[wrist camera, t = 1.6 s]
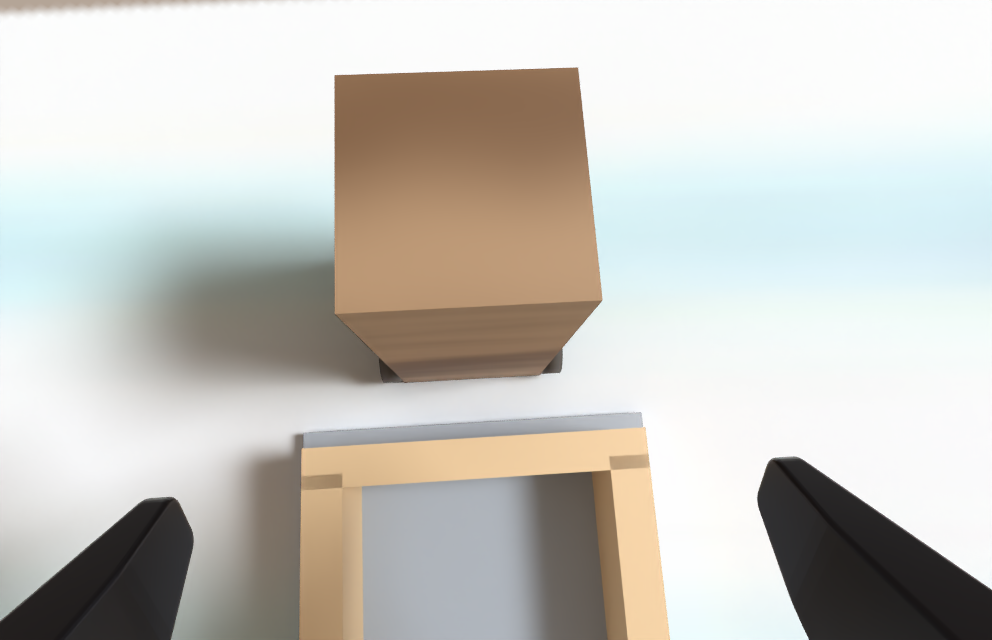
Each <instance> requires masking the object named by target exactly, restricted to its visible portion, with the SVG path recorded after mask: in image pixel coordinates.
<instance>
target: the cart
mask: <svg viewBox="0 0 992 640" xmlns="http://www.w3.org/2000/svg"><path fill="white" fill-rule="evenodd" d="M601 301H602V291H601V282H600V272H599V263H598V253H597V244H596V234H595V225H594V215H593V206H592V196H591V187H590V177H589V168H588V158H587V149H586V139H585V130H584V120H583V111H582V101H581V92H580V82H579V73H578V68H550V69H518V70H486V71H455V72H423V73H392V74H360V75H335V315H336V316H337V317H338V318H339V319H340V320H341V321H342V322H343V323H344V324H346V325H347V326H348V327H349V328H350V329H351V330H352V331H353V332H354V333H355V334H356V335H357V336H358V337H359V338H360V339H361V340H362V341H363V342H364V343H365V344H366V345H367V346H368V347H369V348H370V349H371V350H372V351H373V352H374V353H375V354H376V355H377V356H378V357H379V364H380V372H381V377H382V380H383V382H384V383H389V382H402V380H403V381H404V382H405V383H408V382H426V381H443V380H461V379H478V378H496V377H513V376H531V375H540V374H541V373H542V374H546V373H560V372H561V369H562V355H563V354H562V348H563V346H564V345H565V344H566V343H567V342H568V341H569V339H570V338H571V337H572V336H573V335H574V333H575V332H576V331H577V330H578V329H579V327H580V326H581V325H582V324H583V323H584V322H585V320H586V319H587V318H588V317H589V316H590V314H591V313H592V312H593V311H594V310H595V309H596V307H597V306H598V305H599V304H600V303H601Z"/></svg>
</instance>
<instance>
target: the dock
mask: <svg viewBox="0 0 992 640" xmlns="http://www.w3.org/2000/svg"><path fill="white" fill-rule="evenodd" d="M299 640H670V636H669V627H668V619H667V610H666V601H665V593H664V584H663V576H662V567H661V558H660V550H659V541H658V533H657V524H656V515H655V507H654V498H653V490H652V481H651V472H650V464H649V455H648V447H647V438H646V429H645V427H643V423H642V414H641V412H639V413H622V414H606V415H589V416H573V417H556V418H540V419H523V420H507V421H490V422H474V423H457V424H441V425H425V426H408V427H392V428H375V429H359V430H342V431H326V432H309V433H304V445H303V448H302V449H301V531H300V615H299Z"/></svg>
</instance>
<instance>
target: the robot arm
mask: <svg viewBox="0 0 992 640" xmlns="http://www.w3.org/2000/svg"><path fill="white" fill-rule="evenodd" d="M757 500H758V507H759V510H760V513H761V516H762V519H763V522H764V525H765V528H766V530H767V533H768V536H769V539H770V542H771V545H772V548H773V550H774V553H775V556H776V559H777V562H778V565H779V567H780V570H781V573H782V576H783V579H784V582H785V585H786V587H787V590H788V593H789V595H790V598H791V601H792V603H793V605H794V608H795V610H796V612H797V615H798V617H799V619H800V621H801V623H802V626H803V628H804V630H805V632H806V634H807V636H808V638H809V640H992V590H991V589H990V588H988V587H987V586H986V585H984V584H983V583H981V582H980V581H978V580H977V579H975V578H974V577H973V576H971V575H970V574H968V573H967V572H965V571H964V570H962V569H961V568H959V567H958V566H957V565H955V564H954V563H952V562H951V561H949V560H948V559H946V558H945V557H943V556H942V555H941V554H939V553H938V552H936V551H935V550H933V549H932V548H930V547H929V546H928V545H926V544H925V543H923V542H922V541H920V540H919V539H917V538H916V537H914V536H913V535H912V534H910V533H909V532H907V531H906V530H904V529H903V528H901V527H900V526H899V525H897V524H896V523H894V522H893V521H891V520H890V519H888V518H887V517H885V516H884V515H883V514H881V513H880V512H878V511H877V510H875V509H874V508H872V507H871V506H870V505H868V504H867V503H865V502H864V501H862V500H861V499H859V498H858V497H856V496H855V495H854V494H852V493H851V492H849V491H848V490H846V489H845V488H843V487H842V486H840V485H839V484H838V483H836V482H835V481H833V480H832V479H830V478H829V477H827V476H826V475H825V474H823V473H822V472H820V471H819V470H817V469H816V468H814V467H813V466H811V465H810V464H809V463H807V462H806V461H804V460H802V459H801V458H798V457H779V458H772V459H771V460H770V461H769V462H768V464H767V467H766V470H765V473H764V476H763V479H762V482H761V485H760V488H759V491H758V497H757ZM193 542H194V539H193V532H192V529H191V527H190V525H189V523H188V521H187V519H186V516H185V514H184V512H183V510H182V508H181V506H180V503H179V502H178V500H176V499H175V498H173V497H162V498H149V499H145V500H143V501H142V502H140V503H139V504H138V505H136V506H135V507H134V508H133V509H132V510H131V511H129V512H128V513H127V514H126V515H125V516H123V517H122V518H121V519H120V520H119V521H118V522H116V523H115V524H114V525H113V526H112V527H110V528H109V529H108V530H107V531H106V532H105V533H103V534H102V535H101V536H100V537H99V538H98V539H96V540H95V541H94V542H93V543H92V544H90V545H89V546H88V547H87V548H86V549H85V550H83V551H82V552H81V553H80V554H79V555H78V556H76V557H75V558H74V559H73V560H72V561H70V562H69V563H68V564H67V565H66V566H65V567H63V568H62V569H61V570H60V571H59V572H57V573H56V574H55V575H54V576H53V577H52V578H50V579H49V580H48V581H47V582H46V583H45V584H43V585H42V586H41V587H40V588H39V589H37V590H36V591H35V592H34V593H33V594H32V595H30V596H29V597H28V598H27V599H26V600H25V601H23V602H22V603H21V604H20V605H19V606H17V607H16V608H15V609H14V610H13V611H12V612H10V613H9V614H8V615H7V616H6V617H4V618H3V619H2V620H1V621H0V640H171V636H172V632H173V628H174V624H175V620H176V616H177V612H178V608H179V603H180V599H181V595H182V591H183V587H184V583H185V579H186V574H187V570H188V566H189V562H190V558H191V554H192V550H193Z"/></svg>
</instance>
